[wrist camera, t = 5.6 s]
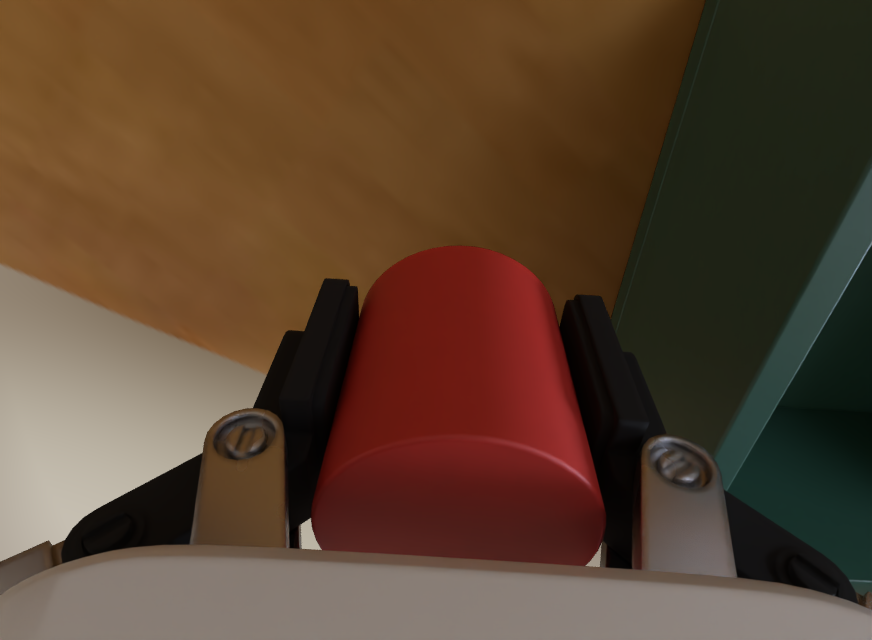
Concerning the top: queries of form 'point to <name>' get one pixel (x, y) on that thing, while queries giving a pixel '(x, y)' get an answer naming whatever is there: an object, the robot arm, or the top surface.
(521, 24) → the top surface
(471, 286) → the piece
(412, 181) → the top surface
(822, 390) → the sorter
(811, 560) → the robot arm
